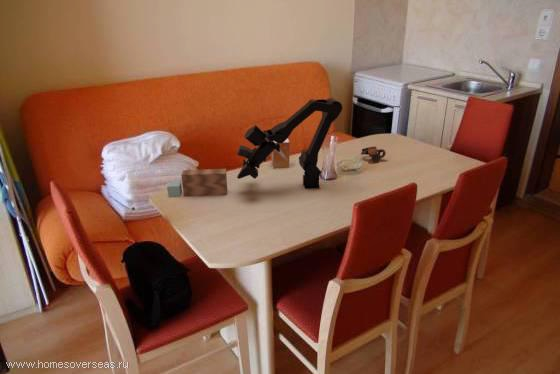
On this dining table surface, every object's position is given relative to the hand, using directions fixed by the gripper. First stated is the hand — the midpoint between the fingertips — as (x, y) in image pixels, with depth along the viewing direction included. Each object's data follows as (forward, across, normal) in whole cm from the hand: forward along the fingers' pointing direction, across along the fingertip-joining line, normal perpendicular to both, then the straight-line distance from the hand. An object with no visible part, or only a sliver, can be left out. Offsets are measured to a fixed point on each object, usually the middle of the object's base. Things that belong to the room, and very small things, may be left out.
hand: (237, 177), depth 183 cm
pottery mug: (-41, -32, +53) cm, 74 cm away
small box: (-9, -28, +19) cm, 35 cm away
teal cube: (+23, 0, -15) cm, 27 cm away
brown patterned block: (+14, 0, -5) cm, 15 cm away
